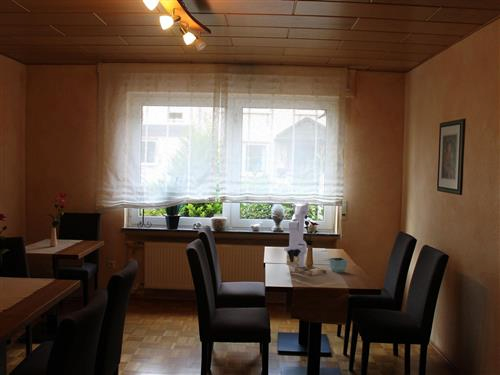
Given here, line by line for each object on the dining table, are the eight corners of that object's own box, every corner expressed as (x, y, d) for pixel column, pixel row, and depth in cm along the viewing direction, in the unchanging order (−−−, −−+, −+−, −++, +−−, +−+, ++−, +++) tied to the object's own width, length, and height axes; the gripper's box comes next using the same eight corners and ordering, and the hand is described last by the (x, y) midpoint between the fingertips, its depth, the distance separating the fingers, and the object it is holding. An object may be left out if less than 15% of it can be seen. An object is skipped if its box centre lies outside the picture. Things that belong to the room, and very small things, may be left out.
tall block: (296, 267, 296) (296, 257, 296) (286, 264, 303) (286, 255, 303) (299, 266, 298) (299, 257, 297) (289, 264, 305) (289, 254, 304)
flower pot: (334, 274, 303) (335, 260, 303) (328, 271, 312) (329, 257, 311) (347, 274, 306) (347, 260, 305) (341, 271, 314) (341, 257, 314)
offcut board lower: (306, 273, 299) (306, 271, 299) (317, 271, 305) (317, 270, 305) (311, 275, 295) (311, 273, 295) (322, 273, 301) (323, 271, 301)
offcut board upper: (309, 272, 299) (309, 270, 299) (316, 270, 304) (316, 268, 304) (314, 273, 296) (314, 271, 296) (321, 271, 302) (321, 269, 302)
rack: (294, 273, 304) (294, 268, 304) (310, 270, 313) (310, 266, 313) (310, 277, 293) (310, 272, 293) (326, 274, 302) (326, 270, 302)
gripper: (289, 241, 292) (289, 263, 292) (306, 240, 301) (306, 261, 301) (282, 240, 297) (281, 261, 298) (298, 238, 306) (298, 259, 307)
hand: (293, 261), depth 300 cm, fingers closed on tall block, 2 cm apart
